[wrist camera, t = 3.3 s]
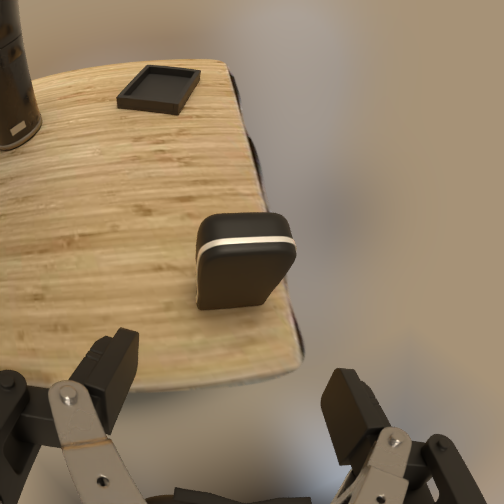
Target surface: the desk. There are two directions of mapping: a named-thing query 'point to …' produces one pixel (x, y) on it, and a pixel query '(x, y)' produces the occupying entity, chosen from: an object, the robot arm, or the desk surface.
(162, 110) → the dock pad
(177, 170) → the desk surface
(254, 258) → the battery charger
